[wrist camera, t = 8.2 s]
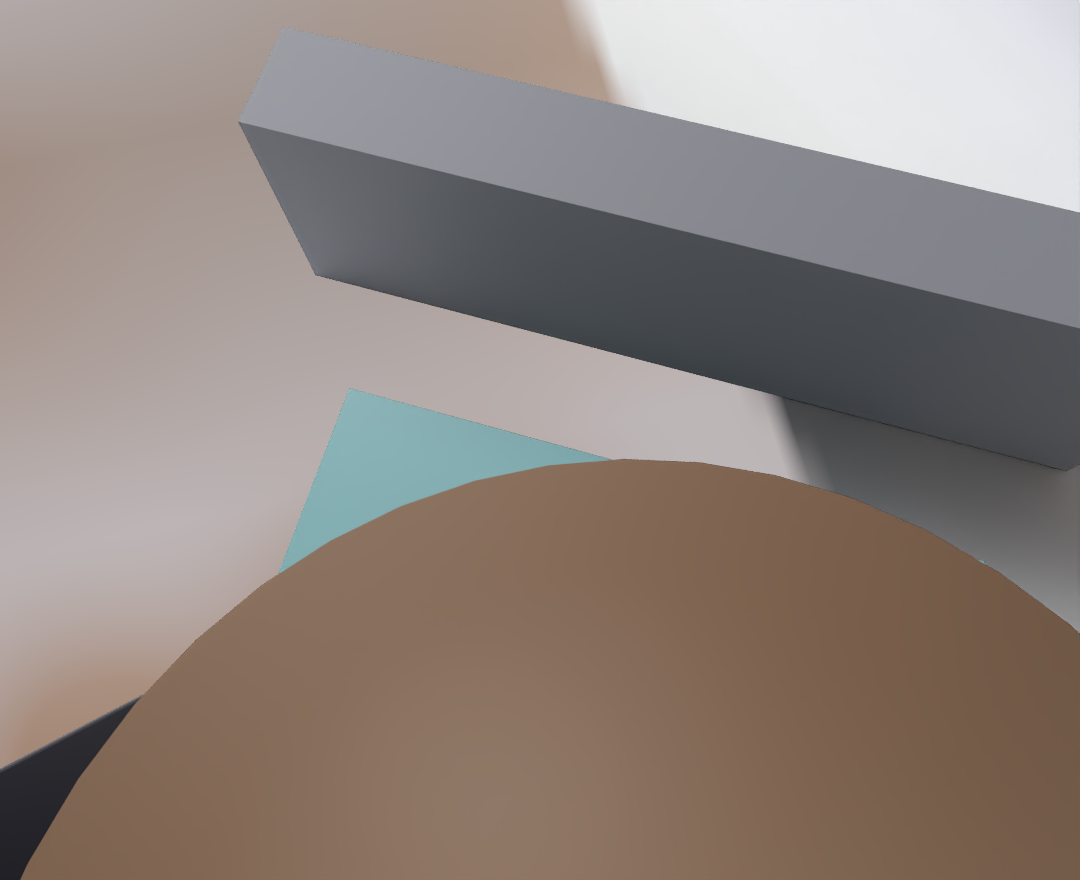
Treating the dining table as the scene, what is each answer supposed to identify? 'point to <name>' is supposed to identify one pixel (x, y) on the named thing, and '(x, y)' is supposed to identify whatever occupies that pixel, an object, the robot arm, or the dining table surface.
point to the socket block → (405, 464)
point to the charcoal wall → (680, 243)
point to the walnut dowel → (603, 701)
